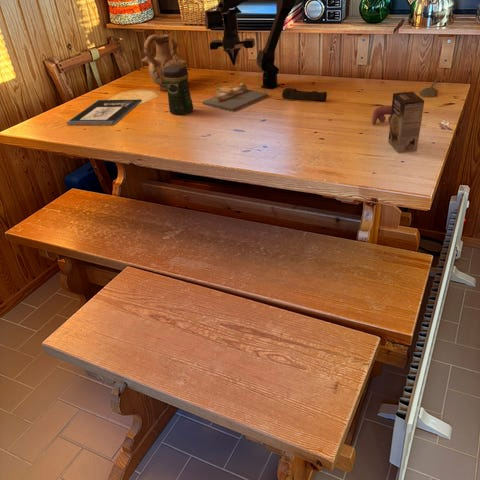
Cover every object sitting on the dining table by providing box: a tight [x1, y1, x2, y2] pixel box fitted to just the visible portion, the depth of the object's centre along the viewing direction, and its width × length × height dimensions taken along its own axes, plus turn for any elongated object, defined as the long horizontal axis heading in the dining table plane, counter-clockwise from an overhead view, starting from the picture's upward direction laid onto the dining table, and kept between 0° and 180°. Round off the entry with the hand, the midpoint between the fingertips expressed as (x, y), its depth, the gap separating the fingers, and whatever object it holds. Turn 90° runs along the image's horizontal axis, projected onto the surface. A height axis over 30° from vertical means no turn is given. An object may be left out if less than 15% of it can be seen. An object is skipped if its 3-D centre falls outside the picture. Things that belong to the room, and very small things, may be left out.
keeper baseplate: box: [202, 82, 269, 112], centre depth 197 cm, size 22×18×5 cm
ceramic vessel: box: [141, 33, 187, 91], centre depth 214 cm, size 18×19×25 cm
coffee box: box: [387, 91, 425, 154], centre depth 143 cm, size 9×6×16 cm
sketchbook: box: [66, 98, 142, 127], centre depth 200 cm, size 22×30×2 cm
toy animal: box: [371, 105, 392, 126], centre depth 163 cm, size 10×5×7 cm, turn 72°
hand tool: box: [281, 87, 328, 103], centre depth 191 cm, size 19×4×5 cm, turn 62°
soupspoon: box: [419, 78, 440, 98], centre depth 189 cm, size 22×3×7 cm
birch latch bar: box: [212, 84, 248, 102], centre depth 200 cm, size 18×4×2 cm, turn 134°
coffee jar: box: [163, 65, 194, 115], centre depth 187 cm, size 10×8×19 cm
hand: (234, 64), depth 200 cm, fingers closed
